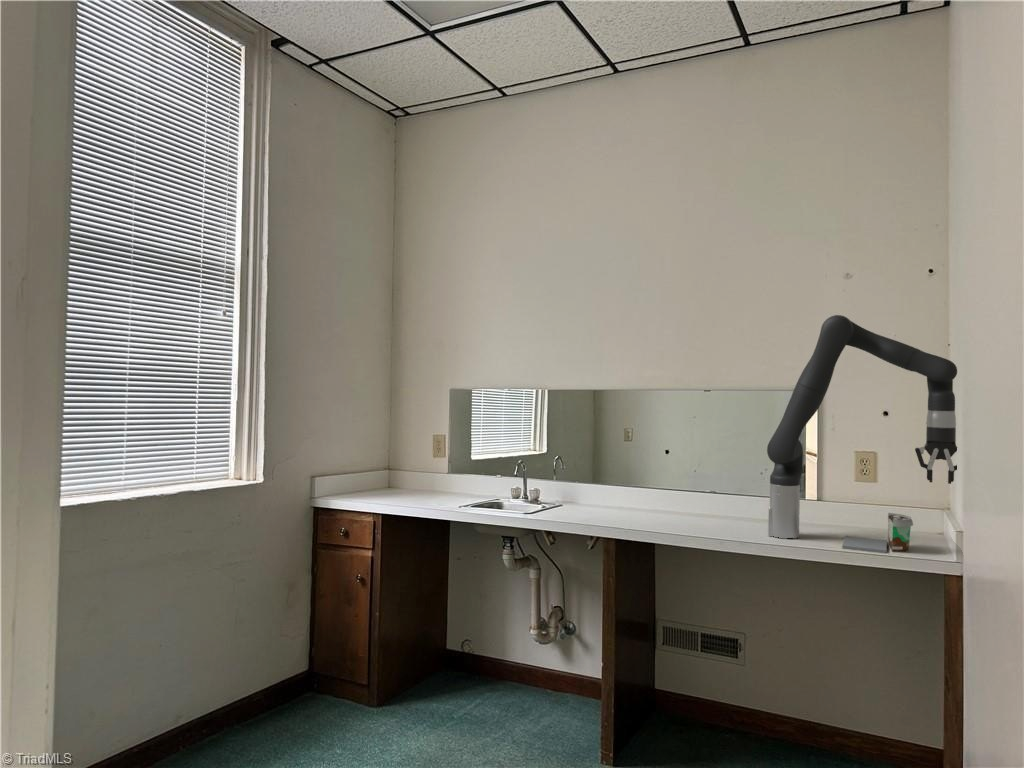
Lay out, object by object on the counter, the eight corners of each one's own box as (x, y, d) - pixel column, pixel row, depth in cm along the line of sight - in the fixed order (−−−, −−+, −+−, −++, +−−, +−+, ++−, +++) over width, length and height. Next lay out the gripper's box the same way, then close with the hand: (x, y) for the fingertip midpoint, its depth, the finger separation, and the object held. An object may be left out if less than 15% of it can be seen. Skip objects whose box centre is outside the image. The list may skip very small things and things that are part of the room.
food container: (916, 554, 211) (916, 521, 210) (892, 552, 213) (893, 519, 213) (909, 545, 222) (910, 514, 222) (887, 544, 224) (887, 512, 224)
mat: (842, 548, 218) (842, 545, 218) (845, 538, 232) (845, 535, 232) (886, 553, 212) (886, 550, 212) (886, 542, 226) (886, 540, 226)
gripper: (914, 425, 213) (913, 482, 213) (970, 427, 206) (969, 486, 206) (913, 424, 219) (912, 479, 219) (967, 426, 212) (967, 483, 213)
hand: (940, 482), depth 213 cm, fingers open, 4 cm apart
